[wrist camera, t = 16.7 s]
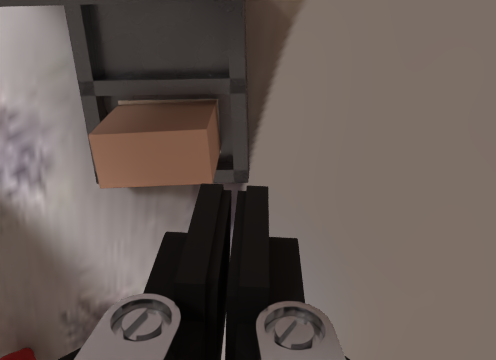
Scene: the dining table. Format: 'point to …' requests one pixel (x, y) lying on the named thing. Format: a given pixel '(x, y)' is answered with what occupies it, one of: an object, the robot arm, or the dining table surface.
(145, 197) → the dining table surface
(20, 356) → the strawberry
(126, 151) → the cardboard box
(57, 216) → the dining table surface
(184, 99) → the rack
